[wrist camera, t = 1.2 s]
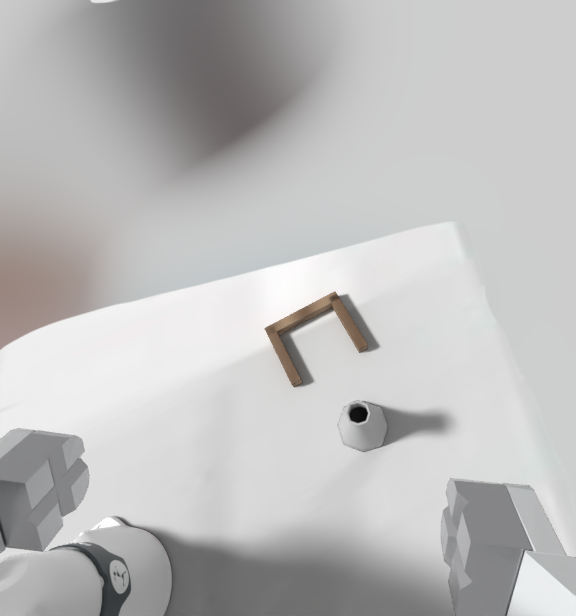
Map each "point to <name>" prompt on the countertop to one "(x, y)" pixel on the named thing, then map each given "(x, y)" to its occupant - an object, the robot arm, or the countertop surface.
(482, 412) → the countertop surface
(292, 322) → the dock
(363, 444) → the flask
